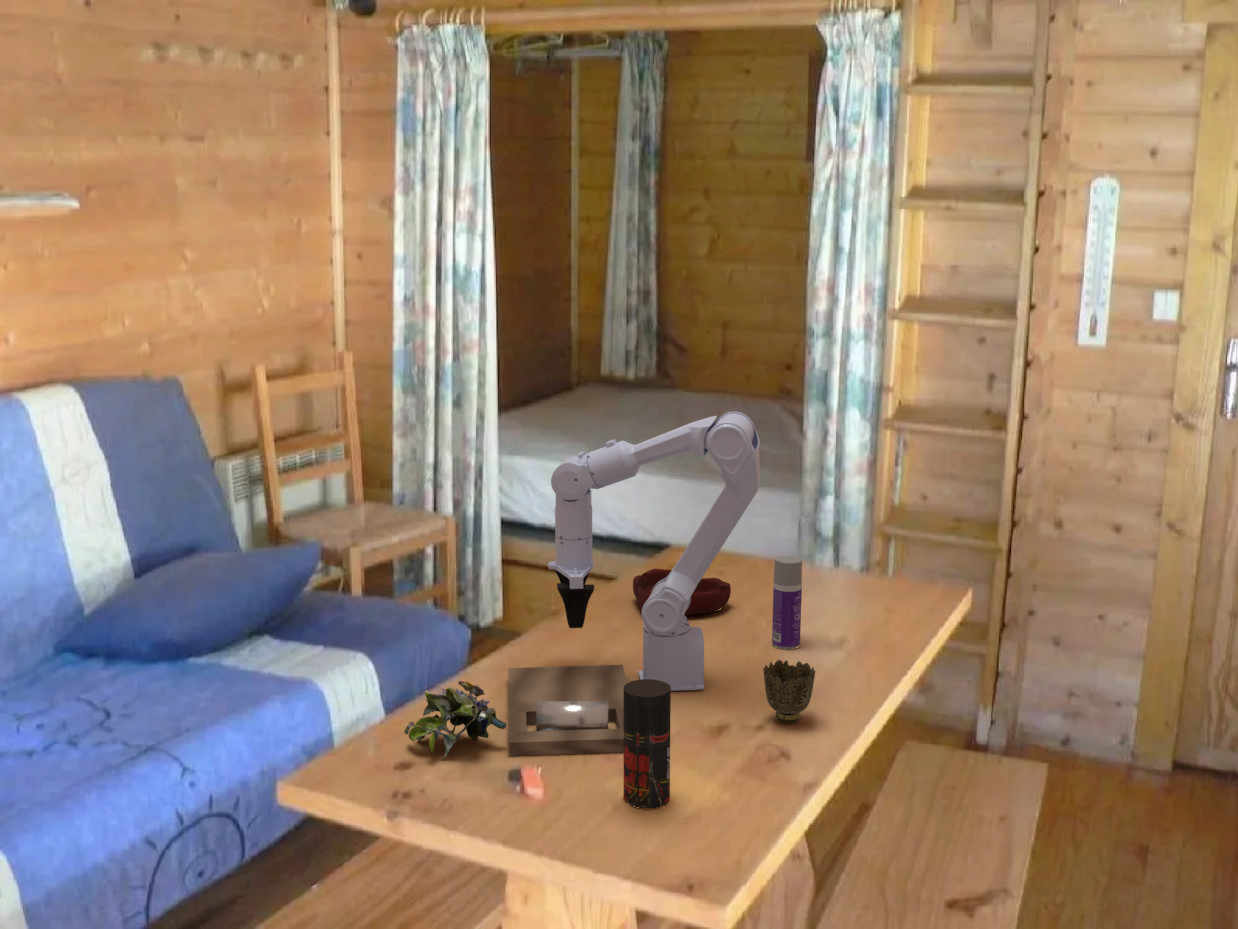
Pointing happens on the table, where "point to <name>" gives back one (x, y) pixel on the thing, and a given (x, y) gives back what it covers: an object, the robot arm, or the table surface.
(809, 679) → the cup
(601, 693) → the grey brown board
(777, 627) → the container
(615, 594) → the table surface
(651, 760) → the deodorant
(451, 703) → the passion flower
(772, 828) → the table surface
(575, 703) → the roller
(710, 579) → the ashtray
